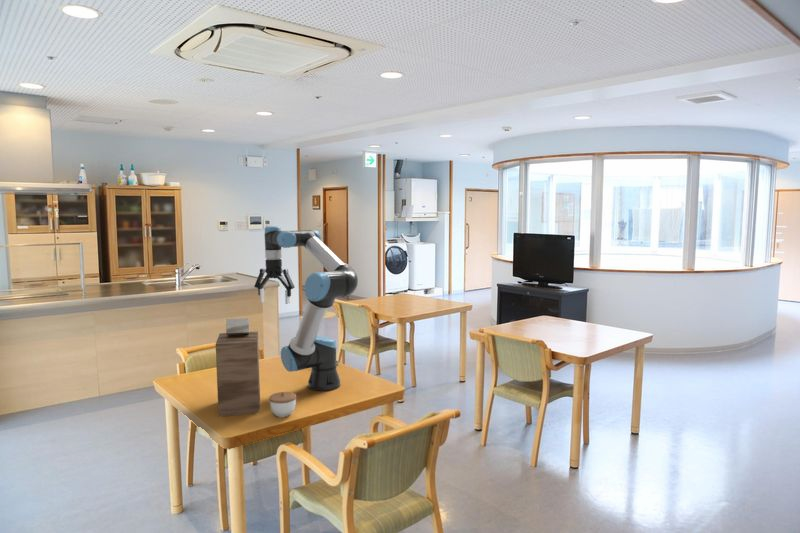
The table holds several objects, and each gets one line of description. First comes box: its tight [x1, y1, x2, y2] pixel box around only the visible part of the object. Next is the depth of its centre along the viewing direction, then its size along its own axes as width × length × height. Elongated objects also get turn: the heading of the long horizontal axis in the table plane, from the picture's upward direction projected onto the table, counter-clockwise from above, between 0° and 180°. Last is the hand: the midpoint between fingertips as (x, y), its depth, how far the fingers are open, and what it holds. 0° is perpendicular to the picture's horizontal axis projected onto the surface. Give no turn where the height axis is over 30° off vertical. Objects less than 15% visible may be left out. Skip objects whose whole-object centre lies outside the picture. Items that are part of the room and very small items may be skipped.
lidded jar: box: [268, 391, 297, 418], centre depth 222 cm, size 11×11×9 cm
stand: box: [215, 330, 261, 417], centre depth 230 cm, size 19×16×30 cm
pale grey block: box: [225, 317, 250, 335], centre depth 242 cm, size 28×9×6 cm, turn 13°
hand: (274, 302), depth 262 cm, fingers open, 13 cm apart
